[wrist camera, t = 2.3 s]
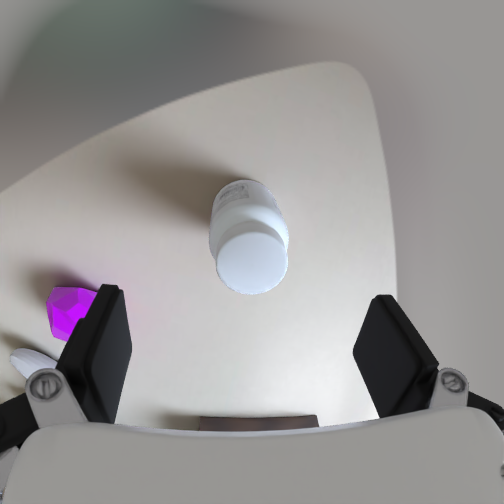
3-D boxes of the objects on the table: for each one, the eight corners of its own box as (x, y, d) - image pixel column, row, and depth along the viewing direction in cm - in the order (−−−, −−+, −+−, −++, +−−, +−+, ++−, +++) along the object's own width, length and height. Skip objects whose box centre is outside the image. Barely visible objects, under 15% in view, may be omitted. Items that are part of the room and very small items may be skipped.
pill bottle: (203, 226, 22) (193, 288, 15) (226, 169, 20) (225, 207, 14) (260, 246, 23) (274, 313, 16) (286, 192, 21) (314, 241, 15)
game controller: (1, 350, 23) (77, 406, 24) (25, 327, 27) (97, 377, 28) (15, 413, 29) (76, 455, 29) (31, 394, 33) (89, 432, 33)
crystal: (97, 271, 23) (76, 305, 19) (124, 322, 26) (110, 360, 22) (51, 282, 23) (28, 314, 19) (78, 329, 26) (62, 364, 22)
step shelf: (318, 415, 34) (337, 492, 25) (292, 466, 42) (301, 524, 32) (198, 416, 33) (195, 500, 23) (201, 467, 40) (200, 528, 30)
